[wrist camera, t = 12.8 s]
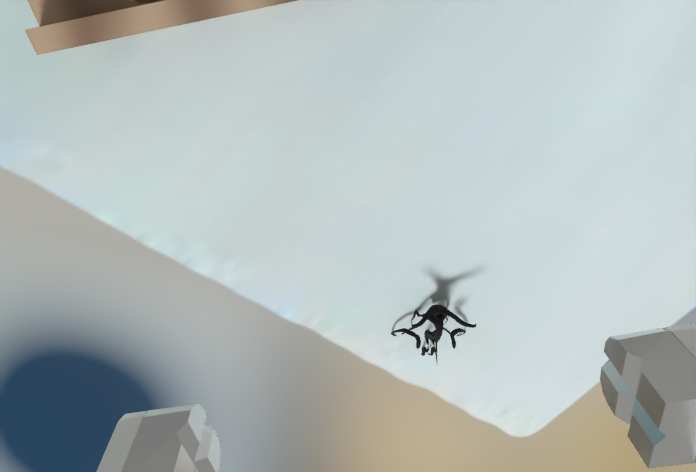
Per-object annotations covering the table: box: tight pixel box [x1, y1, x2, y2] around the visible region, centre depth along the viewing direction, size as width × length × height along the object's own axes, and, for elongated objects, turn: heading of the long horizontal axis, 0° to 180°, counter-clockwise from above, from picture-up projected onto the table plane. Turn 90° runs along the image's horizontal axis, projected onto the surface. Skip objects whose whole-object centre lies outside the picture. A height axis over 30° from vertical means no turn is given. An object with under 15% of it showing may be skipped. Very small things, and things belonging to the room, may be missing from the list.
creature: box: [391, 305, 476, 360], centre depth 47 cm, size 8×5×8 cm
